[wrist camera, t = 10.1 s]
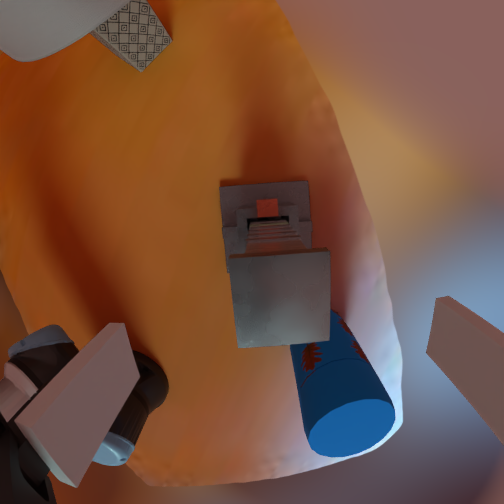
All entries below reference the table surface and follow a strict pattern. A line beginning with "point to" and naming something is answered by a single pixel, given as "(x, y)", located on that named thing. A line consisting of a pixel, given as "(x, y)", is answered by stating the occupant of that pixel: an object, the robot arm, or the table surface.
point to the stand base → (247, 211)
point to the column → (280, 288)
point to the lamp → (81, 28)
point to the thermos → (340, 394)
